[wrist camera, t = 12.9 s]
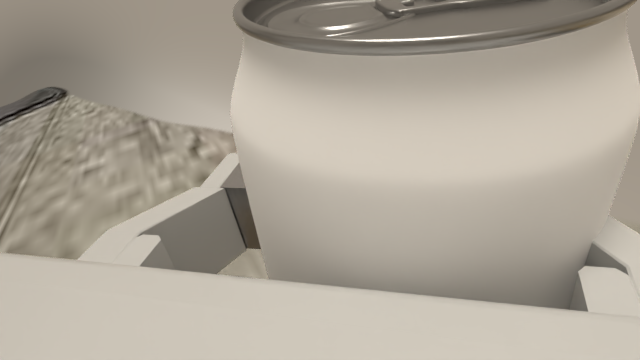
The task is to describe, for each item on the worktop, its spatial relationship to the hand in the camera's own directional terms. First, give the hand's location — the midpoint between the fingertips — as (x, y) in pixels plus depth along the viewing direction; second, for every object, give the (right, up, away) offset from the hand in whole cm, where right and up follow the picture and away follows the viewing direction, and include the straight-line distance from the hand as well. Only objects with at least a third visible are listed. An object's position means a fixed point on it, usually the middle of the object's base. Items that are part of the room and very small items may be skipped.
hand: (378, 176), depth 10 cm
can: (+1, -7, +3) cm, 8 cm away
